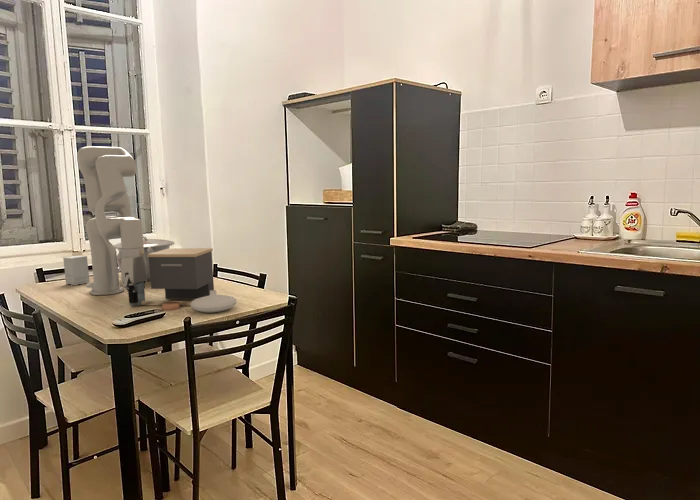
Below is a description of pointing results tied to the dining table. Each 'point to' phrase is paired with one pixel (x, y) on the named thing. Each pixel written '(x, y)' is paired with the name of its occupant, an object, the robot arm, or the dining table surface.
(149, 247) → the chamber pot
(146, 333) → the dining table surface
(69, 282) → the supplement box
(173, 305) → the coaster
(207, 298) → the grey domed lid
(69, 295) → the dining table surface
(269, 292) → the dining table surface
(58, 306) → the dining table surface
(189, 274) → the cabinet
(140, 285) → the grey block with handle
